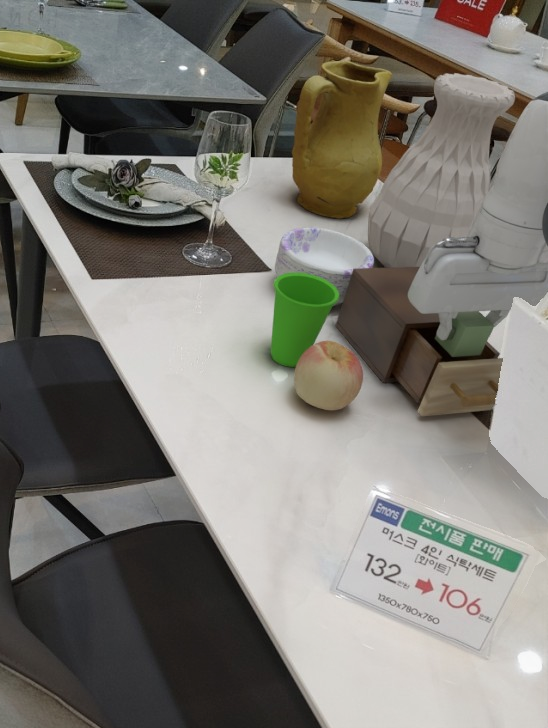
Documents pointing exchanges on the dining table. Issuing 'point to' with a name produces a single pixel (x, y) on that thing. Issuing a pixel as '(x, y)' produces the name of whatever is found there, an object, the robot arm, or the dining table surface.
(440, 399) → the drawer
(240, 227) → the dining table surface
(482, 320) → the block
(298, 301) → the cup
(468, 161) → the vase
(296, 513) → the dining table surface
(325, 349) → the apple
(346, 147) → the pitcher
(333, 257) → the paper bowls
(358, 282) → the cabinet
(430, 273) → the robot arm
